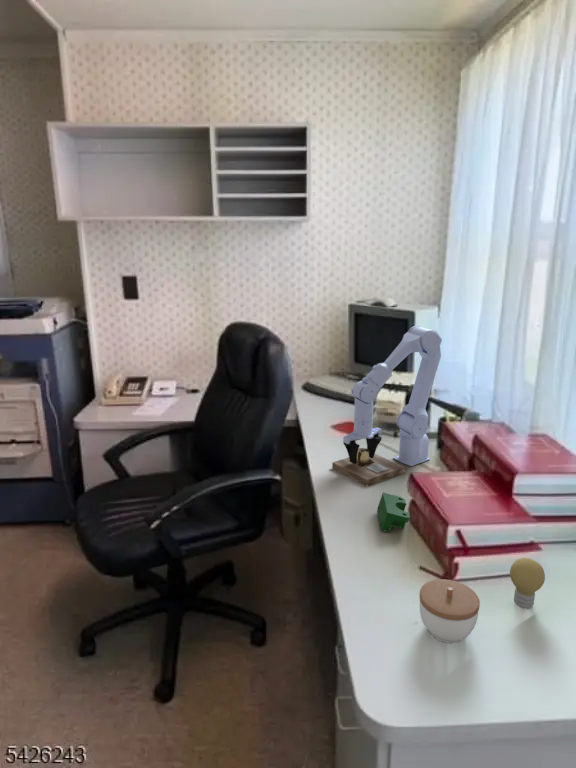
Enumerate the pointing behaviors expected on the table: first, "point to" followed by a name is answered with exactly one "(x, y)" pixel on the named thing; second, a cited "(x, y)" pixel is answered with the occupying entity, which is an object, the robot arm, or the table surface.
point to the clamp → (392, 512)
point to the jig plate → (369, 469)
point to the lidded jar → (448, 609)
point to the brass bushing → (362, 457)
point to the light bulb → (526, 581)
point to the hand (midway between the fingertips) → (361, 459)
